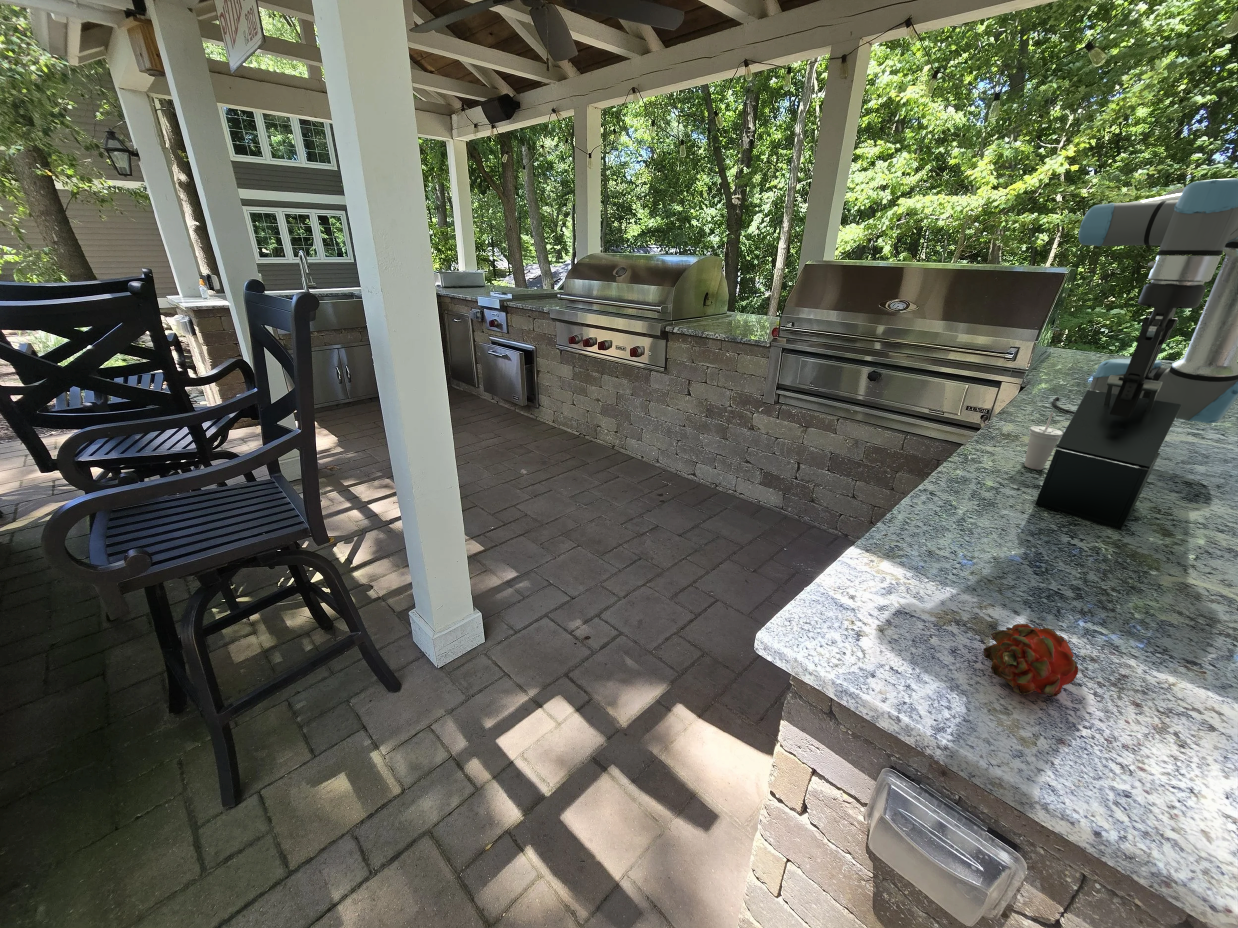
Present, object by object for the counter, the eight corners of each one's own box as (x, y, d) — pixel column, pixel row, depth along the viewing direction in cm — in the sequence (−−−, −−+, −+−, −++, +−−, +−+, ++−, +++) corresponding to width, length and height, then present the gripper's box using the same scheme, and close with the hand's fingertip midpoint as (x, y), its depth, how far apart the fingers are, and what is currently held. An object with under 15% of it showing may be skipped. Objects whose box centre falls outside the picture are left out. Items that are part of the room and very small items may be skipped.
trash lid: (1087, 391, 103) (1092, 363, 97) (1181, 406, 93) (1193, 376, 87) (1056, 447, 101) (1059, 423, 95) (1149, 469, 91) (1159, 443, 85)
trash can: (1052, 487, 114) (1072, 434, 109) (1133, 509, 104) (1160, 452, 99) (1034, 504, 106) (1055, 448, 101) (1120, 530, 96) (1148, 470, 91)
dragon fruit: (993, 713, 60) (1017, 674, 68) (1083, 718, 54) (1099, 675, 62) (964, 642, 62) (992, 612, 69) (1049, 639, 55) (1068, 607, 63)
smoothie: (1045, 464, 126) (1065, 411, 120) (1053, 473, 121) (1074, 418, 115) (1014, 460, 129) (1032, 408, 123) (1021, 469, 123) (1040, 415, 118)
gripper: (1152, 280, 92) (1103, 402, 102) (1138, 283, 84) (1085, 417, 93) (1212, 282, 87) (1154, 411, 96) (1203, 286, 78) (1140, 427, 88)
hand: (1120, 414), depth 95 cm, fingers closed on trash lid, 2 cm apart
